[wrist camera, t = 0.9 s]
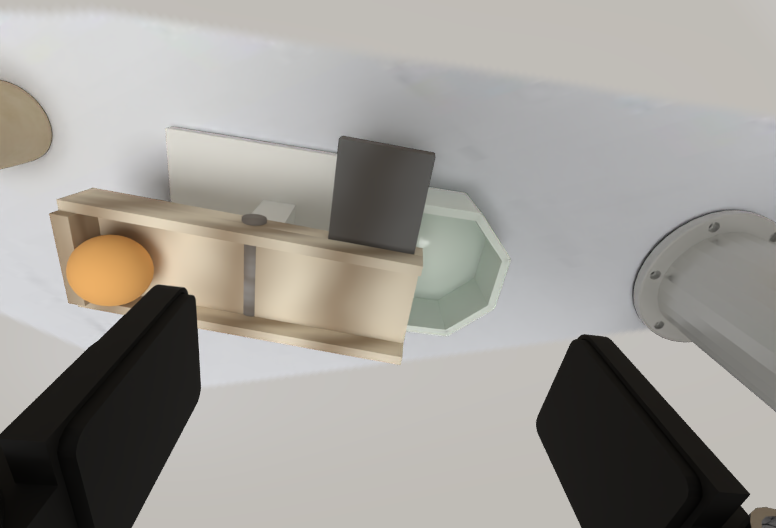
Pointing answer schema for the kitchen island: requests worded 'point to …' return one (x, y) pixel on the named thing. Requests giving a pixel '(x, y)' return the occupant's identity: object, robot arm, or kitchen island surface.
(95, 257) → the ball
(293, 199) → the lever stand
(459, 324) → the pale green bowl
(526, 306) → the kitchen island surface
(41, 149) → the candle
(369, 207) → the lever
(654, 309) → the robot arm
